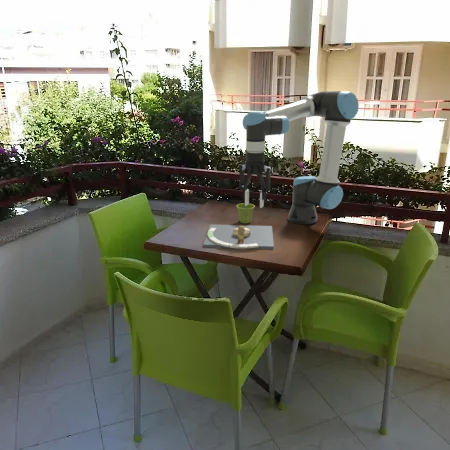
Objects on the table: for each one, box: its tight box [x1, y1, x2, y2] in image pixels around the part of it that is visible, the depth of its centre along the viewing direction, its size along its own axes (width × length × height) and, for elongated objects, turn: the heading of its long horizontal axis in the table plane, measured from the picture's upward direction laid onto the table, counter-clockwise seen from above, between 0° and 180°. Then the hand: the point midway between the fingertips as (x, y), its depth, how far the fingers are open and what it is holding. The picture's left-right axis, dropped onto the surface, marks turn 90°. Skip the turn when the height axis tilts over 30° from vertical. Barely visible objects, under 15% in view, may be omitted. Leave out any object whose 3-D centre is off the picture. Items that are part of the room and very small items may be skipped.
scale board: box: [202, 224, 275, 250], centre depth 180 cm, size 31×29×2 cm
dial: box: [233, 226, 250, 244], centre depth 176 cm, size 17×8×7 cm, turn 175°
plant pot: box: [236, 202, 256, 224], centre depth 201 cm, size 9×9×9 cm
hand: (254, 205), depth 165 cm, fingers open, 6 cm apart
